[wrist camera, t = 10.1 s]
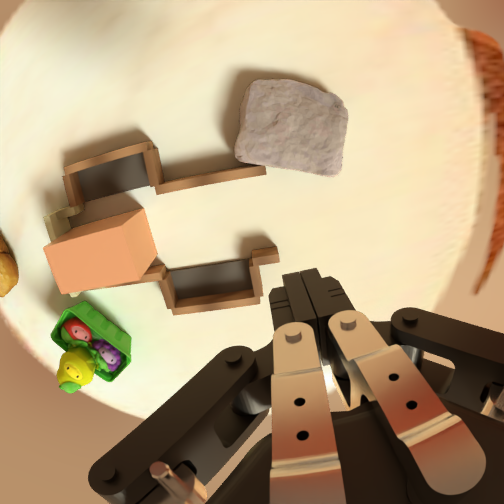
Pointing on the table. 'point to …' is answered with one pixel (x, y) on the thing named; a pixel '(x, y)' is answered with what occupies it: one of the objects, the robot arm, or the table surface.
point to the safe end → (58, 231)
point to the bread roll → (7, 270)
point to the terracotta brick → (102, 253)
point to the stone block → (291, 127)
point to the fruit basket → (89, 347)
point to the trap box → (150, 173)
